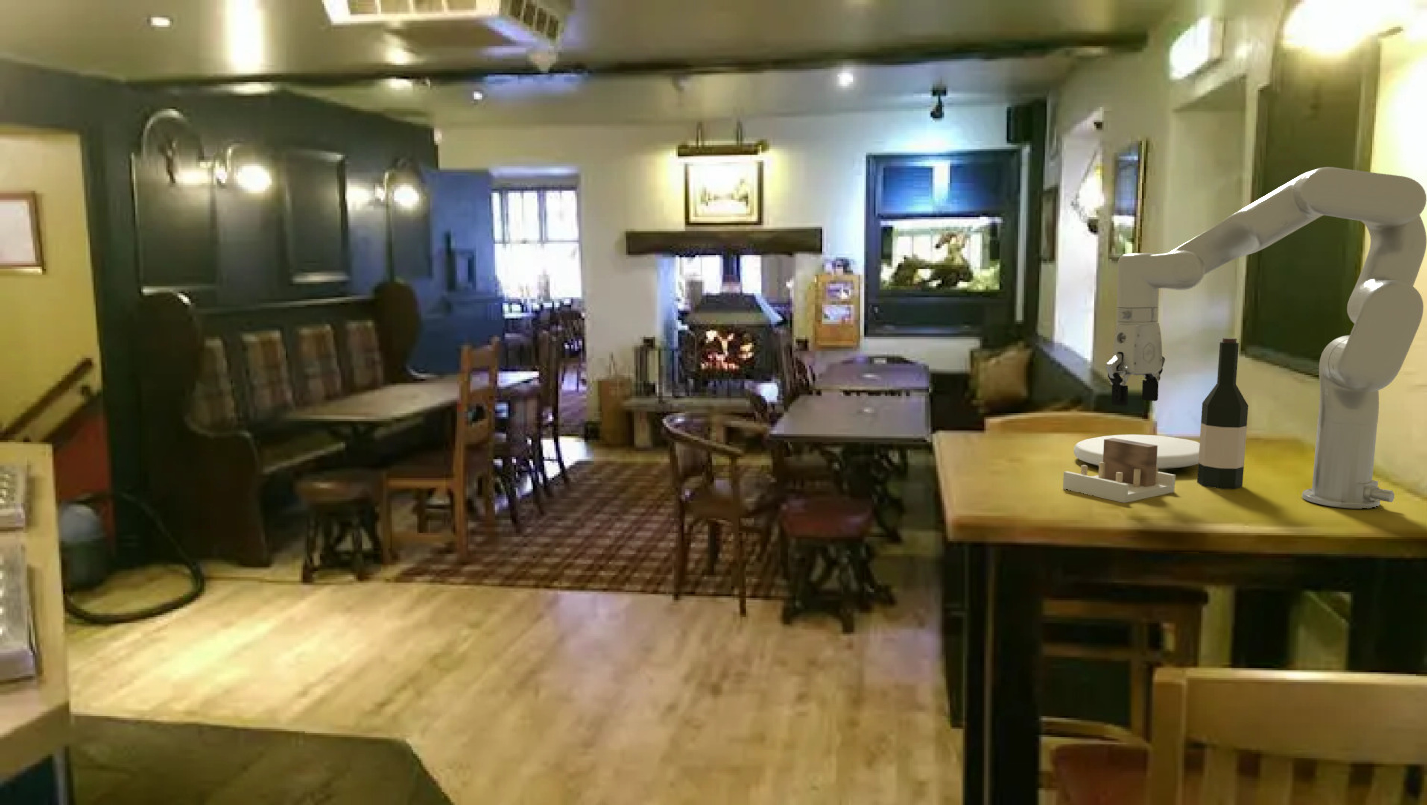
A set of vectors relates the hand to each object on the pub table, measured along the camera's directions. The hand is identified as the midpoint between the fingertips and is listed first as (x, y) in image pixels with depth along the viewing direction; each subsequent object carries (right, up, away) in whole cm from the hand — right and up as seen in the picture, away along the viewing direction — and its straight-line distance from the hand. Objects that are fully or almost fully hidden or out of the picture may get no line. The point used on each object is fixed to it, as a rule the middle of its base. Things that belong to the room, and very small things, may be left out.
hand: (1134, 402), depth 201 cm
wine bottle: (+20, -17, +6) cm, 27 cm away
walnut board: (0, -16, +2) cm, 16 cm away
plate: (+12, -14, +27) cm, 33 cm away
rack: (-3, -18, +1) cm, 18 cm away
